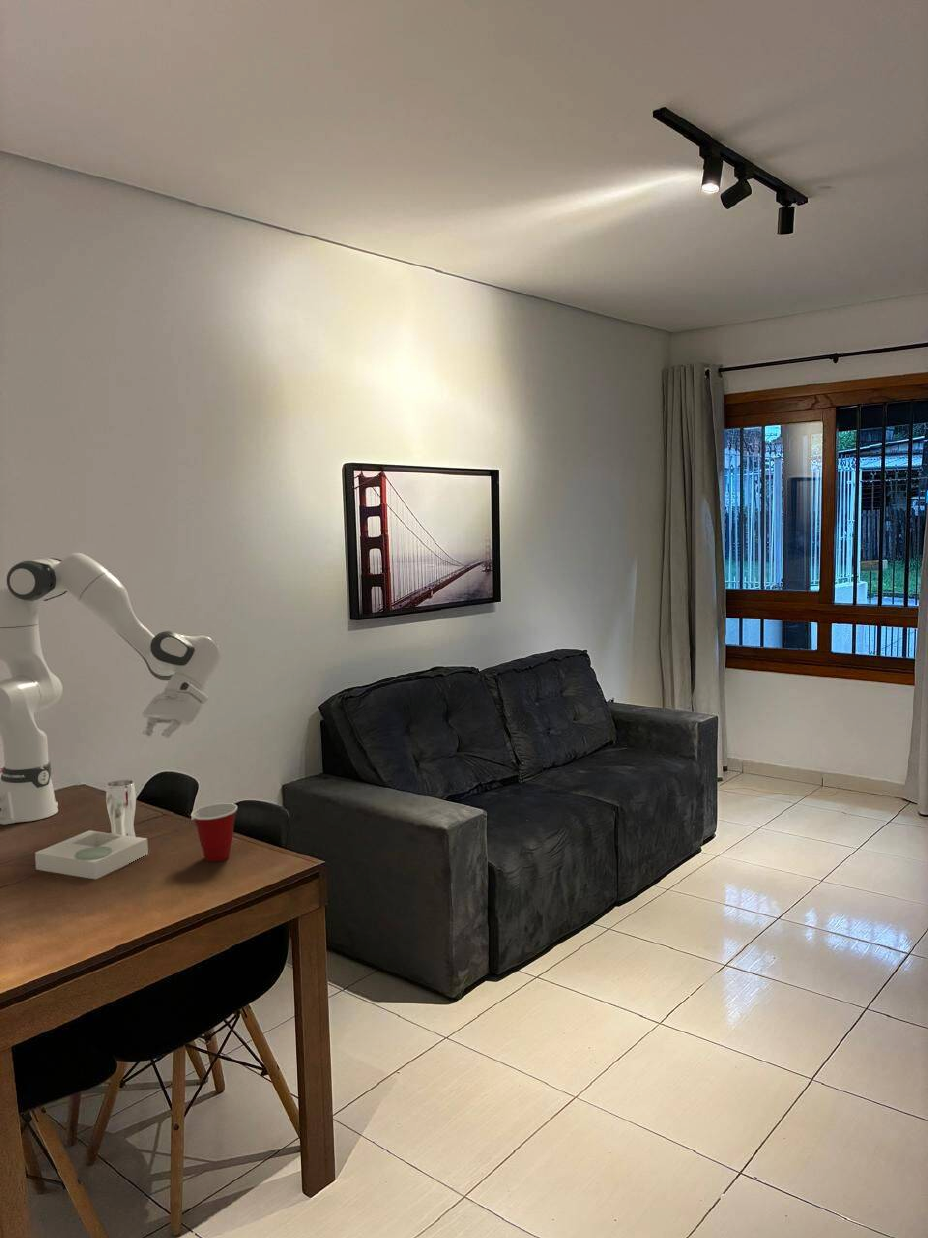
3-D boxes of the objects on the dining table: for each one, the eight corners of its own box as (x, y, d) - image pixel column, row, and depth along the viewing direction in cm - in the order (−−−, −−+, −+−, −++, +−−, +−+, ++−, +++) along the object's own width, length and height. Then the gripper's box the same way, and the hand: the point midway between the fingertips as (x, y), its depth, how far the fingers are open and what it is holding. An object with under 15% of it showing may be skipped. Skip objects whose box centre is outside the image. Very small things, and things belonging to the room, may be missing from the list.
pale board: (36, 869, 216) (34, 851, 216) (90, 846, 232) (89, 829, 232) (96, 879, 210) (95, 861, 209) (148, 854, 225) (147, 837, 225)
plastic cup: (191, 853, 226) (188, 805, 225) (236, 847, 230) (234, 800, 228) (194, 868, 216) (192, 818, 215) (242, 862, 220) (240, 812, 218)
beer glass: (142, 836, 239) (139, 779, 237) (130, 845, 232) (127, 787, 230) (116, 835, 240) (113, 778, 238) (103, 845, 233) (100, 786, 231)
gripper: (153, 684, 254) (126, 728, 247) (194, 685, 240) (166, 731, 234) (170, 697, 258) (143, 740, 251) (212, 698, 244) (185, 744, 238)
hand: (155, 736), depth 242 cm, fingers open, 8 cm apart
